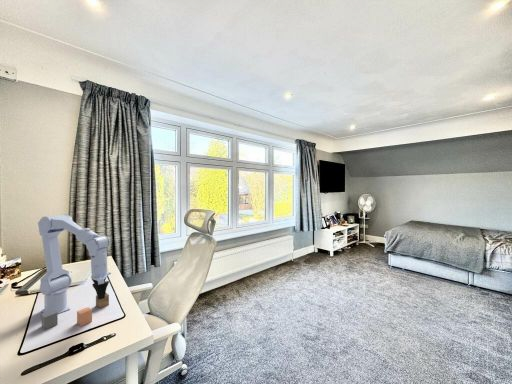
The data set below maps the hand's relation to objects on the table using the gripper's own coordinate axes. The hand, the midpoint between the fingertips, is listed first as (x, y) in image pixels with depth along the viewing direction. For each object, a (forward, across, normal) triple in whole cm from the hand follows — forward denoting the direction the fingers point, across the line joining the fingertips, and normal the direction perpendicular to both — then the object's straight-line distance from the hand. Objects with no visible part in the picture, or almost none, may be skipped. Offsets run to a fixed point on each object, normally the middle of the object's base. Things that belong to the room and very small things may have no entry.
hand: (100, 295), depth 95 cm
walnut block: (+9, +13, -1) cm, 16 cm away
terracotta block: (+10, +1, +6) cm, 11 cm away
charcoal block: (+9, +7, +17) cm, 21 cm away
